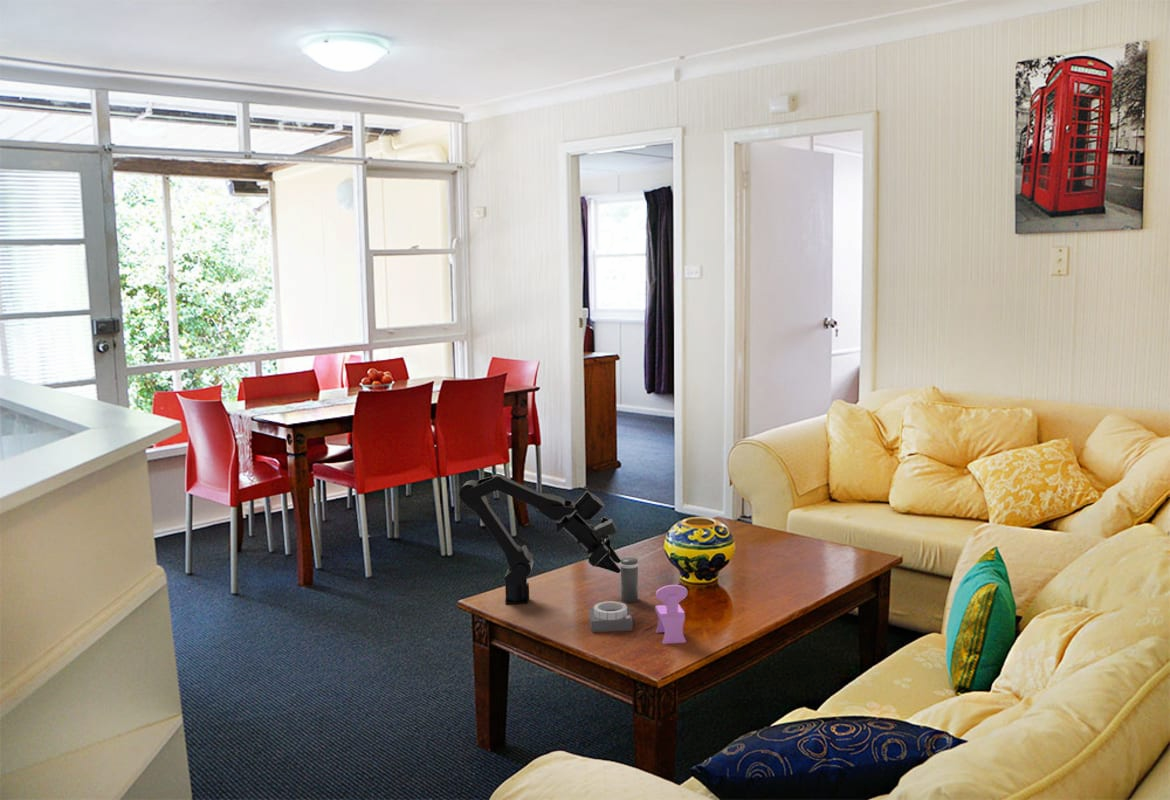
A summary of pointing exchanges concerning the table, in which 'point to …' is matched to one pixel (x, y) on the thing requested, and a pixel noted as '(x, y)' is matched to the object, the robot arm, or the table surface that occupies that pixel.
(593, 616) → the ringed square flange
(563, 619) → the table surface
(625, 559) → the grey domed cylinder
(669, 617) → the toy chair
